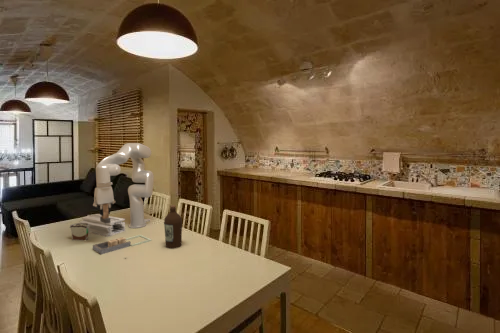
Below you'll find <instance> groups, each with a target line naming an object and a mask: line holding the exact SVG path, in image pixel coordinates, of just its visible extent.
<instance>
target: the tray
mask: <svg viewBox="0 0 500 333" xmlns="http://www.w3.org/2000/svg"><path fill="white" fill-rule="evenodd" d="M125 238H126V241H129V240H133V239H135V238H136V239H137V238H142V239H144V240H143V241H138V242H135V243H131V246H130V247H135V246H139V245H141V244H145V243H149V242H152V241H153V240H152V239H151V238H149V237H147V236H145V235H143V234H137V235H134V236H130V237H125Z"/></svg>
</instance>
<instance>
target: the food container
mask: <svg viewBox="0 0 500 333" xmlns="http://www.w3.org/2000/svg"><path fill="white" fill-rule="evenodd" d="M69 228H70V233H71V239H72V241H84V240H86V241H88V239H89V233H88V228H89V224H88V223H80V222H76V223H72V224H70V225H69Z"/></svg>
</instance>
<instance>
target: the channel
mask: <svg viewBox="0 0 500 333" xmlns="http://www.w3.org/2000/svg"><path fill="white" fill-rule="evenodd" d="M114 239H115V240H116V239H117V238H114ZM108 241H109V240H107V241H103V242H100V243H96V244H95V243H94V244H93V245H92V251H94V252H96V253H98V254H99V255H104V254H108V253H112V252H115V251H118V250H122V249H125V248H128V247H132V246H131V244H132V243H131V241H129V240H128V241H126V242H125V243H122V244H118V245H114V246H110V247H108Z"/></svg>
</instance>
